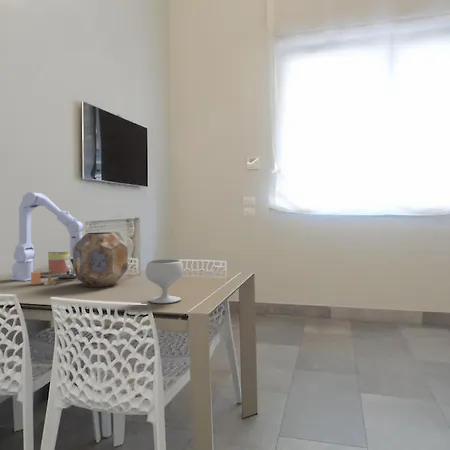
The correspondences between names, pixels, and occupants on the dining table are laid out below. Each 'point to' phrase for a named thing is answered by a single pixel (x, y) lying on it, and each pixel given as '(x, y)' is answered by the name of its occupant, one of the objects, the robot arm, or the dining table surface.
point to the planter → (100, 259)
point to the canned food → (59, 261)
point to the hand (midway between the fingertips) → (76, 273)
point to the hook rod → (40, 277)
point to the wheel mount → (65, 279)
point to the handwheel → (68, 274)
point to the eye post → (49, 279)
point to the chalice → (164, 277)
